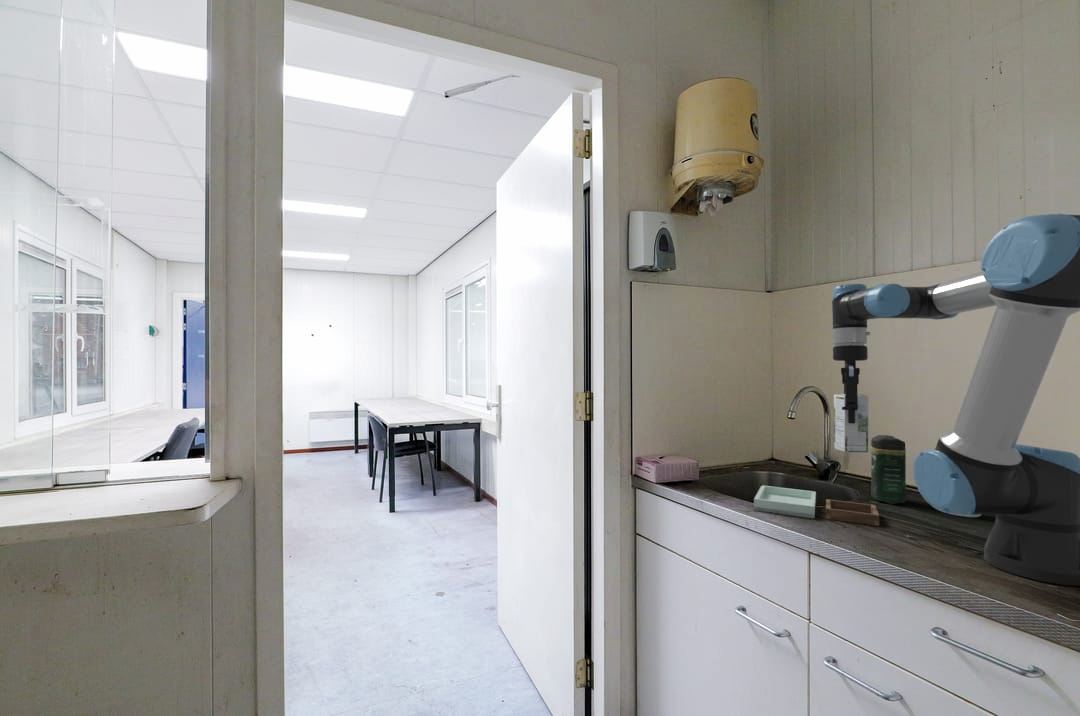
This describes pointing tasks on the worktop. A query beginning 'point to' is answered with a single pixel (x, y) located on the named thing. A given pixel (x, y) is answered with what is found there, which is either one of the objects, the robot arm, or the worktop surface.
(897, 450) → the coffee jar
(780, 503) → the mint tray
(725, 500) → the worktop surface
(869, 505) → the walnut collar
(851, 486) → the worktop surface
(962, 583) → the worktop surface
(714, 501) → the worktop surface
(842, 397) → the syrup box
